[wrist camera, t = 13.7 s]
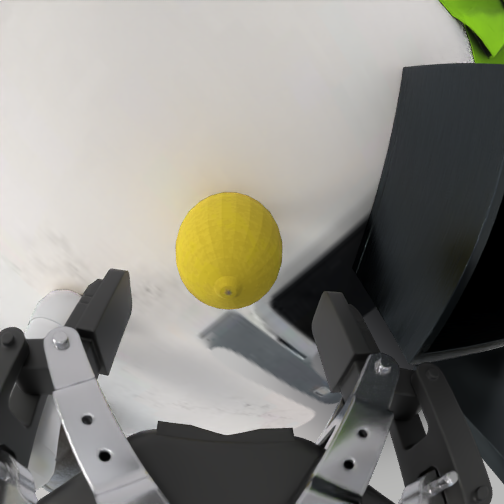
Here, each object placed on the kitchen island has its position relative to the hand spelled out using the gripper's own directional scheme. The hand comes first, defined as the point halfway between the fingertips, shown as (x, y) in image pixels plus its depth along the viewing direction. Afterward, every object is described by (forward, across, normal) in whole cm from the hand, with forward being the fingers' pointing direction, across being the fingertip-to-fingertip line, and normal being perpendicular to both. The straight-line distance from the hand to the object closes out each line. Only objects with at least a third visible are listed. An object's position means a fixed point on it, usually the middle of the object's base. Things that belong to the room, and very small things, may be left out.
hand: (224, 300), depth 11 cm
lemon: (+8, 0, 0) cm, 9 cm away
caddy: (+8, -16, -5) cm, 19 cm away
